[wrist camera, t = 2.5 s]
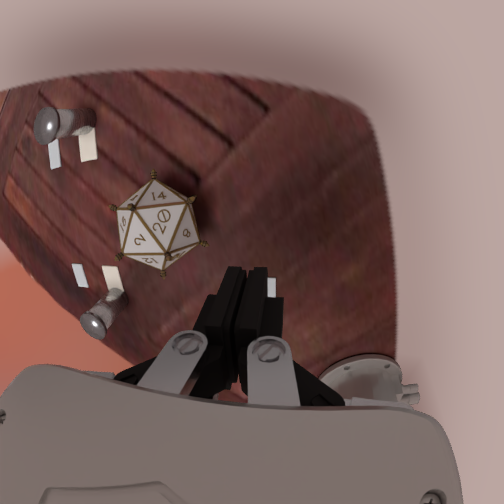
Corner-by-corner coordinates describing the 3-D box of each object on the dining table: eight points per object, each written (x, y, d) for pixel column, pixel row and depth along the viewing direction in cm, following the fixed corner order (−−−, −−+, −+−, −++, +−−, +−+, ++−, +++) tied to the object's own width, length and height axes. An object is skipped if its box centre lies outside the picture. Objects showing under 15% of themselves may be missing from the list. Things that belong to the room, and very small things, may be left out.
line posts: (97, 102, 23) (55, 102, 17) (133, 309, 33) (108, 341, 28) (74, 110, 23) (33, 113, 17) (111, 306, 34) (86, 336, 28)
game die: (178, 186, 30) (134, 137, 20) (237, 227, 28) (206, 182, 18) (129, 251, 29) (69, 224, 19) (182, 299, 27) (126, 290, 17)
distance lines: (273, 102, 22) (272, 102, 21) (275, 316, 31) (275, 317, 31) (48, 142, 25) (48, 142, 25) (83, 297, 34) (82, 298, 34)
